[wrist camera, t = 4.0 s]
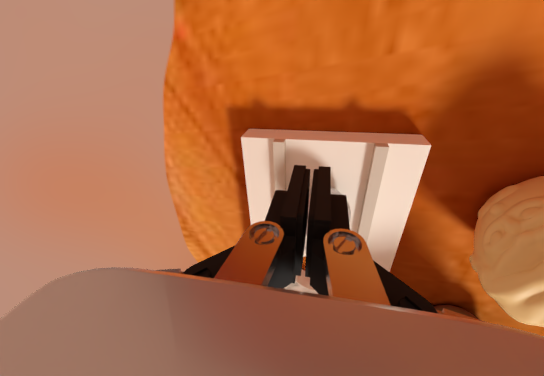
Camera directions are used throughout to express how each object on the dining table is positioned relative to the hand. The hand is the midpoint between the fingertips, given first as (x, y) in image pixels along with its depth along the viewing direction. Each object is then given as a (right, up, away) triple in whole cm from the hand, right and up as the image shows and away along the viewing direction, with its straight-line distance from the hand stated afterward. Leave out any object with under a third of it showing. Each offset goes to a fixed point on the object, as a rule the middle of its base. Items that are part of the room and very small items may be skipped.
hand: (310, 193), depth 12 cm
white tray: (+4, -5, +18) cm, 19 cm away
